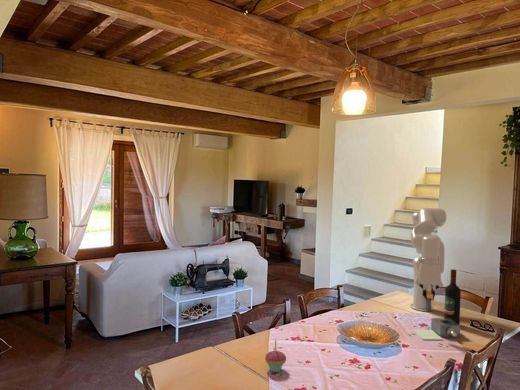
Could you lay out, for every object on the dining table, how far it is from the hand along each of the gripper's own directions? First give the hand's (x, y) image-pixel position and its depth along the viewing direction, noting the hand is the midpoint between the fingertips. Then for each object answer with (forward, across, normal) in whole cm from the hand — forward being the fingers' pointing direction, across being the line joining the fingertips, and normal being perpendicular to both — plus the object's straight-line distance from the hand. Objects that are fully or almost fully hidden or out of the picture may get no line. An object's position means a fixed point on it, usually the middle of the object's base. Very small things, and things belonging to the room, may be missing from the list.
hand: (428, 297), depth 192 cm
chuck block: (+19, +10, +3) cm, 22 cm away
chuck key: (+6, 0, 0) cm, 6 cm away
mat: (+19, 0, 0) cm, 19 cm away
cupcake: (+20, -66, -57) cm, 89 cm away
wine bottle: (+19, +16, +21) cm, 33 cm away
